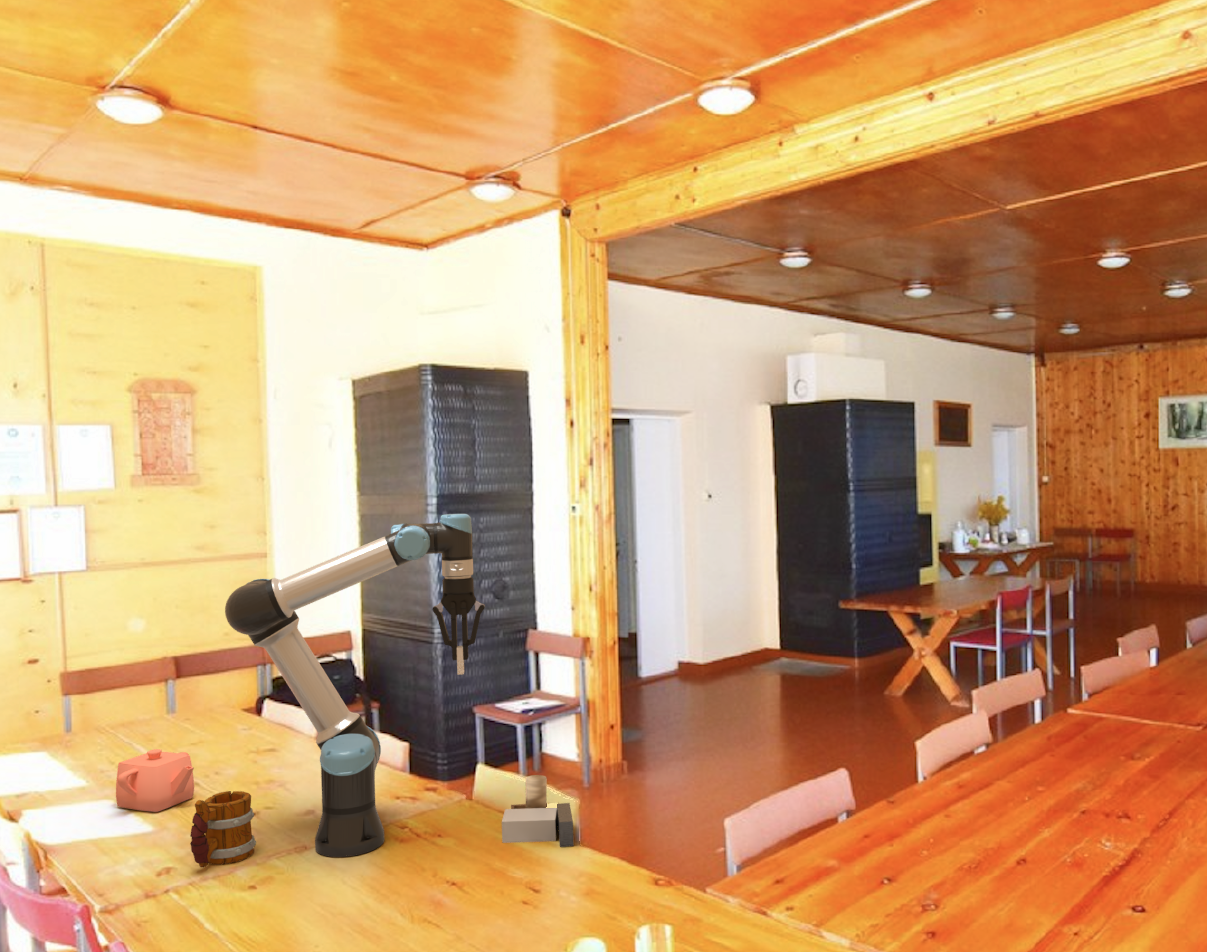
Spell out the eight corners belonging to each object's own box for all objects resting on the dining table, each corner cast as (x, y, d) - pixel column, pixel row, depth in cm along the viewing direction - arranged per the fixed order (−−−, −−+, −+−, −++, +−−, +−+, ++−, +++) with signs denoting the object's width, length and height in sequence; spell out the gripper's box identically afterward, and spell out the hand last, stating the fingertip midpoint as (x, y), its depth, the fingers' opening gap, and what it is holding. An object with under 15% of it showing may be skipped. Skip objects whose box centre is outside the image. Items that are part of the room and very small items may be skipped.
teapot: (98, 815, 237) (96, 760, 237) (168, 787, 258) (166, 737, 258) (156, 823, 230) (155, 766, 230) (224, 794, 250) (222, 742, 250)
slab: (502, 844, 210) (501, 821, 210) (505, 830, 218) (505, 809, 218) (555, 842, 210) (555, 820, 210) (557, 829, 218) (556, 807, 218)
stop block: (560, 847, 207) (559, 822, 207) (557, 827, 219) (556, 803, 219) (573, 846, 207) (572, 821, 207) (570, 826, 219) (569, 802, 219)
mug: (266, 848, 211) (264, 781, 212) (214, 878, 196) (211, 806, 196) (227, 843, 215) (225, 778, 215) (173, 872, 199) (171, 802, 200)
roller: (529, 820, 222) (529, 781, 222) (522, 814, 226) (522, 776, 227) (549, 817, 224) (549, 779, 224) (542, 811, 228) (542, 774, 229)
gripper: (429, 579, 225) (432, 677, 225) (484, 577, 227) (487, 675, 226) (432, 576, 233) (435, 671, 233) (485, 574, 234) (488, 669, 234)
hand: (460, 673), depth 230 cm, fingers closed
